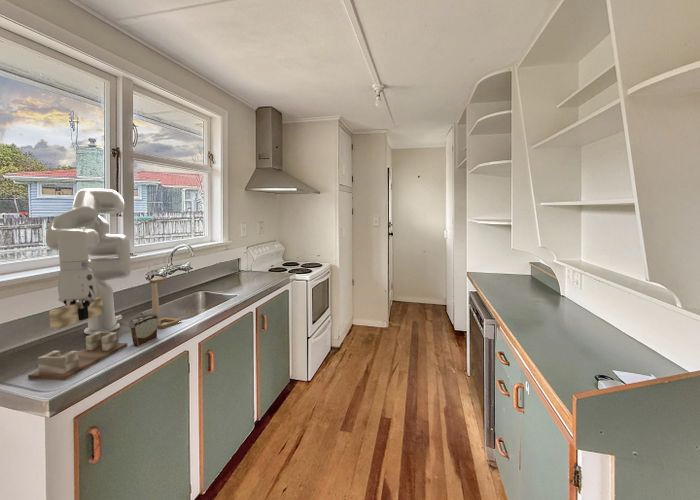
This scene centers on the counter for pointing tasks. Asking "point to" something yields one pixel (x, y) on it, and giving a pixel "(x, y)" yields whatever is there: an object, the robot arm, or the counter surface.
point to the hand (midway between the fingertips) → (79, 318)
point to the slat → (73, 314)
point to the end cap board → (83, 362)
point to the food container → (143, 328)
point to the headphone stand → (156, 306)
